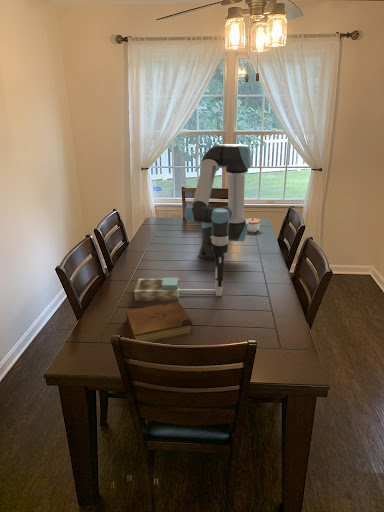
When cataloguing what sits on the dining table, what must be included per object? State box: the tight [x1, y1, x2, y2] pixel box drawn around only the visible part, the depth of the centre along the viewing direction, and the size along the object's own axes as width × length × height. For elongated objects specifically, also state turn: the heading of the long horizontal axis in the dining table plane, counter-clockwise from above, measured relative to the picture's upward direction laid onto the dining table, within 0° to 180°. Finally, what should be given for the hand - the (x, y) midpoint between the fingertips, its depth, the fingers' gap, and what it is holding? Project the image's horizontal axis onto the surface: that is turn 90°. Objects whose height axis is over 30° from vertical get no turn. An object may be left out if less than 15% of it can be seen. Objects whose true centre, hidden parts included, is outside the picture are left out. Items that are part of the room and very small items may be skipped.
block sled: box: [162, 271, 223, 297], centre depth 177 cm, size 28×8×10 cm, turn 89°
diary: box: [125, 301, 193, 343], centre depth 152 cm, size 23×19×6 cm
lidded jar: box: [246, 217, 261, 233], centre depth 262 cm, size 11×11×9 cm
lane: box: [134, 278, 181, 302], centre depth 178 cm, size 20×13×5 cm, turn 89°
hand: (218, 285), depth 177 cm, fingers open, 13 cm apart
